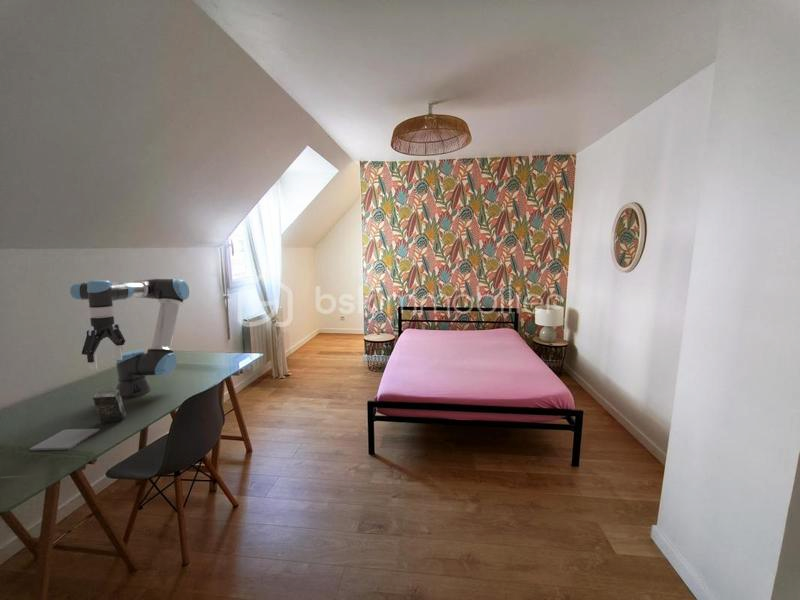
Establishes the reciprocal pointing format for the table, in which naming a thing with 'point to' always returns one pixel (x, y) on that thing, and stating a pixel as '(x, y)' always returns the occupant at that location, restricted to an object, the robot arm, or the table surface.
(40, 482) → the table surface
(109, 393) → the stone block
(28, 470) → the table surface
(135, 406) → the table surface
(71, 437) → the slate pad
